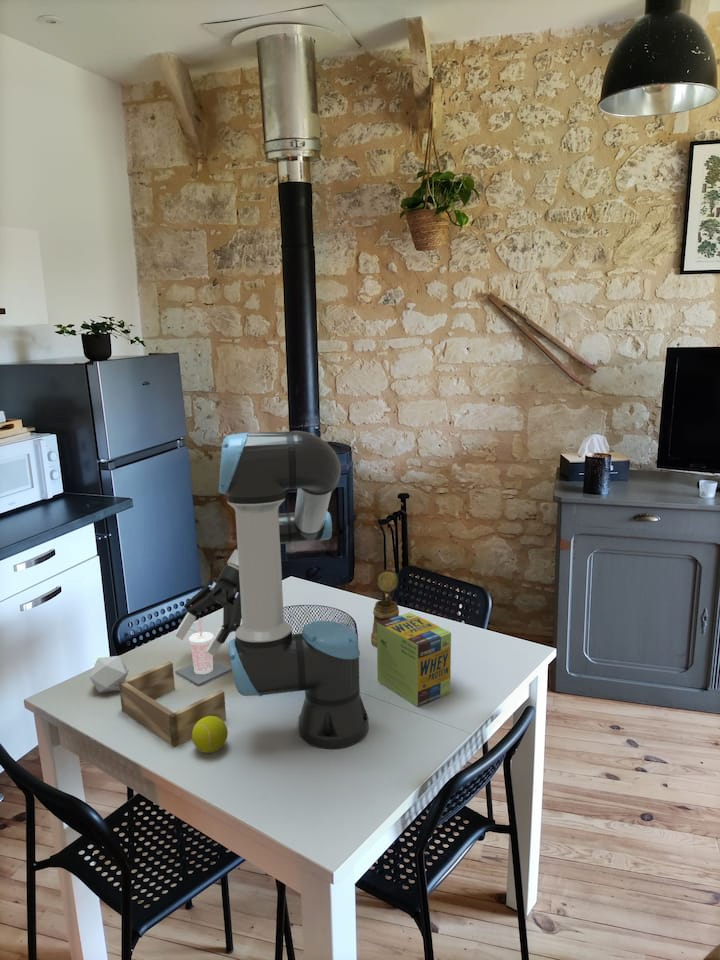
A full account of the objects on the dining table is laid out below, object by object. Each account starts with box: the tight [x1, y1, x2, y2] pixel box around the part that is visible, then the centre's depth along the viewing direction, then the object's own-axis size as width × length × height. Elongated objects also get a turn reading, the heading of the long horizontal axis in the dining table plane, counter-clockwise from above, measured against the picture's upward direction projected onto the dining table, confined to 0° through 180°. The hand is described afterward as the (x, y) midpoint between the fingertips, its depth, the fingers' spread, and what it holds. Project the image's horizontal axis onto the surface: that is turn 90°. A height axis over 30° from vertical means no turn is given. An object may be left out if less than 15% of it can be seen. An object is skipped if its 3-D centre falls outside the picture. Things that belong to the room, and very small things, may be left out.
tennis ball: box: [192, 716, 229, 754], centre depth 142 cm, size 7×7×7 cm
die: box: [89, 655, 129, 694], centre depth 167 cm, size 8×9×10 cm
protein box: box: [376, 612, 452, 708], centre depth 164 cm, size 10×15×16 cm
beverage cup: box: [188, 617, 215, 674], centre depth 173 cm, size 6×6×14 cm
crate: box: [119, 661, 227, 748], centre depth 155 cm, size 13×21×7 cm, turn 48°
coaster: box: [174, 658, 232, 687], centre depth 175 cm, size 10×10×1 cm
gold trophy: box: [370, 568, 400, 648], centre depth 190 cm, size 9×14×18 cm, turn 173°
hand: (193, 645), depth 171 cm, fingers open, 13 cm apart
